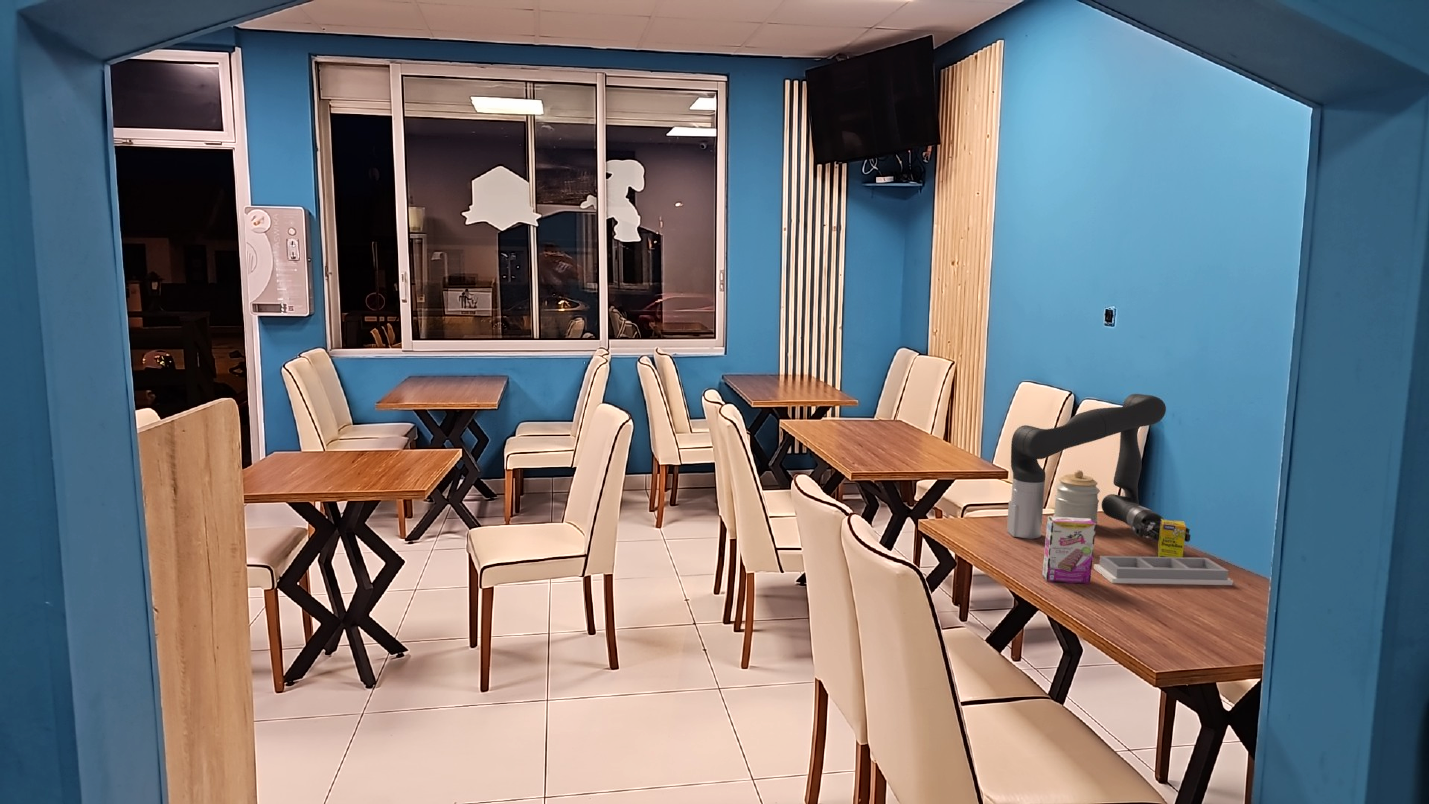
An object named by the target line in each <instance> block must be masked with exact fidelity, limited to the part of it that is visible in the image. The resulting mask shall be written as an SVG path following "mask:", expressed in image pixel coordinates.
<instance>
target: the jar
mask: <svg viewBox="0 0 1429 804" xmlns="http://www.w3.org/2000/svg"><path fill="white" fill-rule="evenodd" d="M1058 481H1059V483H1057V484H1056V485H1055V488H1056V494H1055V495H1054V498H1055V499H1054V513H1053V517H1070V518H1089V519H1091V520H1092V521H1094V522H1095V523H1096V525H1097V524H1098V510H1099V509H1098V508H1099V502H1100V501H1099V497H1098V494H1099V493H1100V492H1101V491H1100V488H1098V487H1097V485H1098V482H1097V481H1096V480H1095V479H1094V478H1093V477H1092V476H1088V475H1084V472H1083V471H1082V470H1080V469H1077V470H1075V472H1074V474H1065V475H1063V476H1062V477H1060V478H1058Z"/></svg>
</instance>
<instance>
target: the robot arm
mask: <svg viewBox="0 0 1429 804" xmlns="http://www.w3.org/2000/svg"><path fill="white" fill-rule="evenodd" d="M1166 412H1167V406H1166V404H1165V402H1164V401H1163V400H1162V399H1161V398H1160V397H1158V396H1155V395H1149V394H1141V393H1132V394H1129V395H1128V396H1127V397H1126V398H1125V399H1124V402H1123V404H1122V406H1113V407H1111V406H1109V407H1101V408H1094V409H1090V410H1086V411H1083V412H1080V413H1077V414H1075V415H1074V416H1072V417H1071V418H1069V420H1068V421H1067V422H1066V423H1065V424H1063V425H1061V426H1056V427H1052V428H1040V427H1036V426H1032V425H1026V424H1025V425H1020V426H1019V427H1018V428H1016V430H1015V431H1014V432H1013V434H1012V437H1011V446H1010V467H1011V472H1012V484H1011V485H1012V486H1011V500H1009V501H1008V507H1007V508H1008V509H1007V510H1008V511H1007V524H1006V532H1007V533H1008V534H1009V535H1010V536H1012V537H1014V538H1015V537H1016V538H1021V539H1022V538H1023V539H1038V538H1041V536H1042V528H1043V527H1042V526H1043V525H1042V524H1043V513H1044V512H1043V511H1044V501H1045V498H1044V497H1045V487H1046V470H1044V469H1043V468H1042V467H1041V465H1040V464H1039V462H1038V460H1044V459H1047V458H1050V457H1051V456H1053V455H1056V454H1058V453H1060V452H1063V451H1065V450H1067V449H1070V448H1074V447H1077V446H1080V445H1084V444H1088V443H1092V442H1094V441H1099V440H1101V439H1104V438H1107V437H1111V436H1113V435H1117V434H1119V433H1120V436H1119V437H1120V439H1119V453H1118V458H1117V463H1116V468H1115V473H1114V476H1113V481H1112V482H1113V483H1112V484H1113V485H1114V486H1115V487H1118V488H1119V489H1121V490H1123V491H1124V495H1118V494H1115V493H1114V494H1113V493H1110V494H1108V495H1106V496H1104V497H1103V498H1102V500H1101V510H1102V512H1103V513H1104V515H1106V516H1107V517H1109V518H1111V519H1114V520H1116V521H1120V522H1123V523H1125V525H1127V526H1129V527H1130V528H1131V533H1134V535H1136V536H1138V537H1139V538H1143V537H1145V538H1147V539H1152V540H1153V541H1155V542H1159V532H1160V523H1161V519H1164V518H1163V516H1162V515H1160V514H1158V513H1157V512H1155V511H1154V510H1151V509H1149V508H1147V507H1144V506H1142V505H1141V504H1139V503H1140V502H1139V487H1138V485H1139V480H1140V475H1141V471H1142V468H1143V467H1142V464H1143V463H1142V461H1143V460H1142V456H1141V455H1142V454H1141V450H1140V447H1139V446H1140V445H1139V442H1138V441H1139V439H1138V434H1139V433H1138V432H1139V428H1142V427H1148V426H1153V425H1155V424H1158V423H1159V422H1160V421H1161V420H1163V418H1165V415H1166ZM1190 531H1191V529H1190V528H1188V527H1186V531H1185V540H1184V542H1187V543H1188V542H1190V541H1191V534H1190Z"/></svg>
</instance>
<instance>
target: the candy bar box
mask: <svg viewBox="0 0 1429 804" xmlns="http://www.w3.org/2000/svg"><path fill="white" fill-rule="evenodd" d="M1046 522H1047V523H1046V531H1045V539H1044V541H1045V542H1044V554H1043V562H1042V563H1043V564H1042V574H1041V576H1042V577H1043V578H1044V580H1045V581H1046V582H1052V583H1053V582H1055V583H1067V584H1068V583H1069V584H1091V579H1092V578H1091V577H1092V569H1093V568H1092V567H1093V560H1094V559H1093V558H1094V550H1095V549H1094V548H1095V539H1096V531H1097V530H1096V528H1097V524H1096V523H1095V522H1094V521H1092V520H1091V519H1089V518H1070V517H1054V515H1052V516H1051V515H1050V516H1047V518H1046Z"/></svg>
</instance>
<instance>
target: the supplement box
mask: <svg viewBox="0 0 1429 804" xmlns="http://www.w3.org/2000/svg"><path fill="white" fill-rule="evenodd" d="M1186 528H1187V526H1186V523H1185V521H1184V520H1183V521H1182V520H1171V519H1165V518H1163V519H1161V523H1160V532H1159V541H1157V542H1158V543H1157V554H1156V557H1184V548H1185V541H1184V540H1185V531H1186Z"/></svg>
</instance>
